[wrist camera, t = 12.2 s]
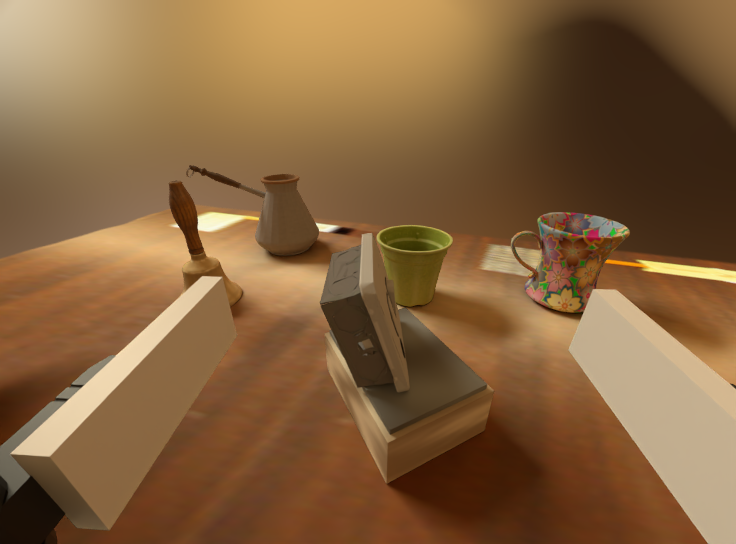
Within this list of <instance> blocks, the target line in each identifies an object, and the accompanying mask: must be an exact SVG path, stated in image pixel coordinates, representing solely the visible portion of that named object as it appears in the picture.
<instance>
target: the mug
mask: <svg viewBox="0 0 736 544" xmlns="http://www.w3.org/2000/svg"><path fill="white" fill-rule="evenodd" d="M538 225H539V229H540V235H541V239H540V237H539V236H538V235H537V234H535V233H533V232H530V231H523V232H520V233H518V234H516V235H515V236H514V237H513V239H512V241H511V248H512V252H513V254H514V256H515V257H516V259H517V260H518V261H519V262H520V263H521V264H522V265H523V266H524V267H525V268H527V269H529V270H530V271H532V273H531V274H530V275H528V277H529V278H530V279H529V280H528V281H527V282H526V284H525V291H526V293H527V294H528V295H529V296H530V297H531V298H532V299H533V300H535V301H536V302H538V303H540V304H541V305H544V306H546V307H549V308H551V309H555V310H559V311H564V312H575V313H577V312H584V310H585V308H586V305H587V303H588V300H589V298H590V296H591V293H592V291H593V289H596V284H597V279H598V276H599V273H600V271H601V268H602V267H603V265H604V263H605V261H606V260H607V258H608V257H609V256H610V254H611V253H612V252H613V251H614V250H615V248H616V247H617V246H618V245H619V244H620V243H621V242H622V241H623V240H624V239H626V238H627V237H628V235H629V234H630V231H629V230H628V228H627V227H625V226H624V225H622V224H620V223H618V222H615V221H612V220H609V219H606V218H602V217H598V216H593V215H587V214H579V213H549V214H545V215H542V216H540V217H539V218H538ZM523 235H531V236H533V237H535V238H536V239H537V240H538V244H539V248H540V249H541V252H540V258H539V262H538V265H537V268H536V270H535V269H534V268H532V267H531V266H529V265H527V264H526V263H525V262H523V261H522V260H521V259H520V257H519V256H518V254H517V252H516V250H515V242H516V240H517V239H518V238H519V237H521V236H523Z"/></svg>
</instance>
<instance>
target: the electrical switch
mask: <svg viewBox="0 0 736 544" xmlns="http://www.w3.org/2000/svg"><path fill="white" fill-rule="evenodd" d="M329 302H330V303H329ZM326 303H327V304H326ZM320 304H321V308H322V310H323V312H324V314H325V317H326V319H327V321H328V323H329V325H330V328H331V330H332V332H333V334H334V337H335V339H336V341H337V343H338V345H339V348H340V350H341V352H342V354H343V356H344V359H345V361H346V363H347V365H348V368H349V370H350V372H351V374H352V376H353V379H354V381H355V383H356V385H357V388H360V387H365V386H370V385H382V384H386V383H395V387H396V390H397V392H403V391H408V390H409V388H410V384H409V376H408V369H407V362H406V356H405V349H404V343H403V336H402V329H401V323H400V316H399V312H398V308H397V305H396V301H395V294H394V283H393V280H389V279H388V276H387V272H386V269H385V266H384V263H383V260H382V257H381V254H380V251H379V249H378V246H377V244H376V241H375V239H374V236H373V234H372V233H368V234H363V235H362V244H361V245H359V246H356V247H352V248H350V249H348V250H345V251H341V252H337V253H333V254H332V257H331V261H330V265H329V269H328V273H327V277H326V281H325V285H324V289H323V293H322V297H321V301H320ZM322 304H324V305H322ZM359 342H360V345H359V344H358V343H359Z"/></svg>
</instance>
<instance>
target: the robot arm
mask: <svg viewBox="0 0 736 544" xmlns="http://www.w3.org/2000/svg"><path fill="white" fill-rule="evenodd" d="M236 337H237V332H236V329H235V325H234V321H233V317H232V313H231V309H230V305H229V301H228V297H227V293H226V289H225V285H224V281H223V277H212V276H202V277H201V278H200V279H199V280H198V281H196V282H195V283H194V284H193V285H192V286H191V287H190V288H189V289H188V290H187V291H186V292H185V293H183V294H182V295H181V296H180V297H179V298H178V299H177V300H176V301H175V302H174V303H173V304H172V305H171V306H169V307H168V308H167V309H166V310H165V311H164V312H163V313H162V314H161V315H160V316H159V317H158V318H156V319H155V320H154V321H153V322H152V323H151V324H150V325H149V326H148V327H147V328H146V329H145V330H143V331H142V332H141V333H140V334H139V335H138V336H137V337H136V338H135V339H134V340H133V341H132V342H130V343H129V344H128V345H127V346H126V347H125V348H124V349H123V350H122V351H121V352H120V353H119V354H117V355H116V356H115V355H111V356H109V357H107V358H105V359H104V360H102V361H100V362H99V363H97V364H95V365H94V366H92V367H90V368H89V369H88V370H86V371H85V372H84V373H83V374H82V375H81V376H80V377H78V378H77V379H76V380H75V381H74V382H73V383H72V384H71V386H70V388H66V389H65V390H64V391H63V392H61V393H60V394H59V395H58V396H57V397H56V399H55V401H54V402H53V401H51V402H50V403H49V404H48V405H47V406H46V407H44V408H43V409H42V410H41V411H40V412H39V413H38V414H37V415H35V416H34V417H33V418H32V419H31V420H30V421H29V422H27V423H26V424H25V425H24V426H23V427H22V428H21V429H20V430H18V431H17V432H16V433H15V434H14V435H13V436H12V437H10V438H9V439H8V440H7V441H6V442H5V443H4V444H3V445H1V446H0V544H57V537H56V531H55V530H54V527H55V526H56V525H57V524H58V522H59V521H60V520H61V519H62V517H63V516H64V515H66V517H67V518H68V519H69V520H70V521H71V522H72V523H73V524H74V525H75V526H76V528H84V529H96V530H110V529H111V527H112V526H113V524H114V523H115V521H116V520H117V518H118V517H119V515H120V514H121V512H122V511H123V509H124V508H125V506H126V505H127V503H128V501H129V500H130V498H131V497H132V495H133V494H134V492H135V491H136V489H137V488H138V486H139V485H140V483H141V482H142V480H143V479H144V477H145V476H146V474H147V473H148V471H149V469H150V468H151V466H152V465H153V463H154V462H155V460H156V459H157V457H158V456H159V454H160V453H161V451H162V450H163V448H164V447H165V445H166V444H167V442H168V440H169V439H170V437H171V436H172V434H173V433H174V431H175V430H176V428H177V427H178V425H179V424H180V422H181V421H182V419H183V418H184V416H185V415H186V413H187V412H188V410H189V408H190V407H191V405H192V404H193V402H194V401H195V399H196V398H197V396H198V395H199V393H200V392H201V390H202V389H203V387H204V386H205V384H206V383H207V381H208V379H209V378H210V376H211V375H212V373H213V372H214V370H215V369H216V367H217V366H218V364H219V363H220V361H221V360H222V358H223V357H224V355H225V354H226V352H227V351H228V349H229V347H230V346H231V344H232V343H233V341H234V340H235V338H236ZM569 351H570V353H571V354H572V356H573V357H574V358H575V360H576V361H577V363H578V364H579V365H580V367H581V368H582V369H583V371H584V372H585V374H586V375H587V376H588V378H589V379H590V381H591V382H592V383H593V385H594V386H595V387H596V389H597V390H598V392H599V393H600V394H601V396H602V397H603V399H604V400H605V401H606V403H607V404H608V405H609V407H610V408H611V410H612V411H613V412H614V414H615V415H616V417H617V418H618V419H619V421H620V422H621V424H622V425H623V426H624V428H625V429H626V430H627V432H628V433H629V435H630V436H631V437H632V439H633V440H634V442H635V443H636V444H637V446H638V447H639V448H640V450H641V451H642V453H643V454H644V455H645V457H646V458H647V460H648V461H649V462H650V464H651V465H652V467H653V468H654V469H655V471H656V472H657V473H658V475H659V476H660V478H661V479H662V480H663V482H664V483H665V485H666V486H667V487H668V489H669V490H670V491H671V493H672V494H673V496H674V497H675V498H676V500H677V501H678V503H679V504H680V505H681V507H682V508H683V510H684V511H685V512H686V514H687V515H688V516H689V518H690V519H691V521H692V522H693V523H694V525H695V526H696V528H697V529H698V530H699V532H700V533H701V534H702V536H703V537H704V539H705V540H706V541H707V543H708V544H736V386H735V385H733V384H729V383H728V382H727V381H726V380H724V379H723V378H722V377H721V376H720V375H718V374H717V373H716V372H715V371H714V370H712V369H711V368H710V367H709V366H707V365H706V364H705V363H704V362H703V361H701V360H700V359H699V358H698V357H697V356H695V355H694V354H693V353H692V352H691V351H689V350H688V349H687V348H686V347H685V346H683V345H682V344H681V343H680V342H678V341H677V340H676V339H675V338H674V337H672V336H671V335H670V334H669V333H668V332H666V331H665V330H664V329H663V328H662V327H660V326H659V325H658V324H657V323H656V322H654V321H653V320H652V319H651V318H650V317H648V316H647V315H646V314H645V313H643V312H642V311H641V310H640V309H639V308H637V307H636V306H635V305H634V304H633V303H631V302H630V301H629V300H628V299H627V298H625V297H624V296H623V295H622V294H621V293H619V292H618V291H617V290H604V289H593V291H592V293H591V296H590V298H589V300H588V303H587V305H586V308H585V310H584V313H583V315H582V318H581V320H580V323H579V325H578V328H577V330H576V333H575V335H574V337H573V340H572V342H571V345H570V347H569Z"/></svg>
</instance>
